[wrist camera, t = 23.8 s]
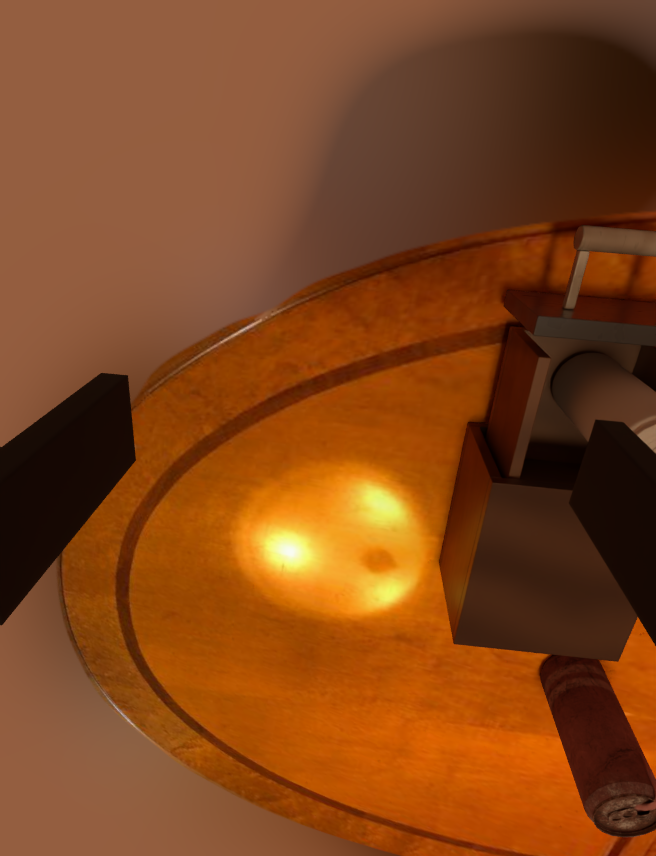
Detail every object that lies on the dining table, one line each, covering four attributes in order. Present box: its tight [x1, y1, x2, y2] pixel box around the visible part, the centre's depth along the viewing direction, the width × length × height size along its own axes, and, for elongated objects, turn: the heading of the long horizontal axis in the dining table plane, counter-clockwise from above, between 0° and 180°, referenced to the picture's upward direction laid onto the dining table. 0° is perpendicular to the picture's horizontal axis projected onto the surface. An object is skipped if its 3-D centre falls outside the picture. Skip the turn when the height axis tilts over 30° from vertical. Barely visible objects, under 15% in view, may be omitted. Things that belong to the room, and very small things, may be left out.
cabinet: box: [439, 422, 638, 662], centre depth 42 cm, size 15×13×10 cm
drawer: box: [485, 225, 656, 485], centre depth 36 cm, size 18×11×8 cm, turn 176°
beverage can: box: [552, 353, 656, 453], centre depth 34 cm, size 5×5×12 cm
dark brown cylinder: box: [540, 655, 656, 837], centre depth 48 cm, size 6×6×14 cm
